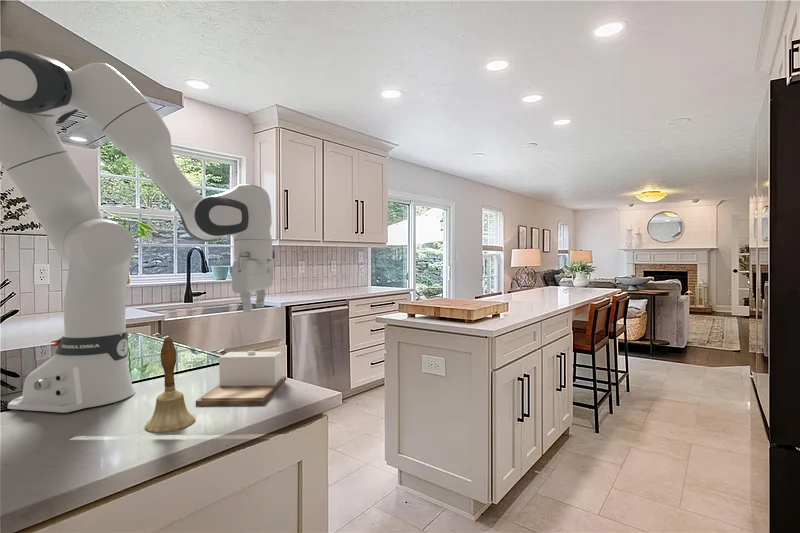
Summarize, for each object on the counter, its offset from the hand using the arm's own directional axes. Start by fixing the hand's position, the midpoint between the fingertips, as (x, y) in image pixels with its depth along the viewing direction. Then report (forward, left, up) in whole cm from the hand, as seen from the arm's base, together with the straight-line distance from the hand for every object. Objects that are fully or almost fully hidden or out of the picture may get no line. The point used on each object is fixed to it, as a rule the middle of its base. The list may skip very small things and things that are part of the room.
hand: (254, 309), depth 105 cm
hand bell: (-7, -25, -19) cm, 32 cm away
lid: (0, -1, -17) cm, 17 cm away
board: (0, -6, -18) cm, 19 cm away
